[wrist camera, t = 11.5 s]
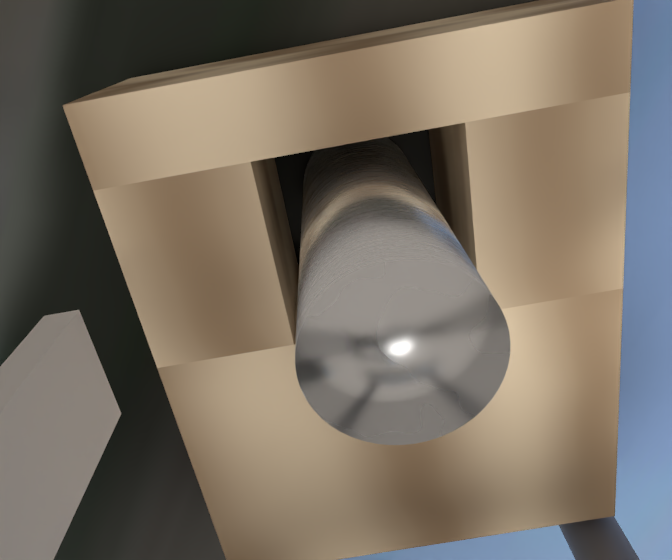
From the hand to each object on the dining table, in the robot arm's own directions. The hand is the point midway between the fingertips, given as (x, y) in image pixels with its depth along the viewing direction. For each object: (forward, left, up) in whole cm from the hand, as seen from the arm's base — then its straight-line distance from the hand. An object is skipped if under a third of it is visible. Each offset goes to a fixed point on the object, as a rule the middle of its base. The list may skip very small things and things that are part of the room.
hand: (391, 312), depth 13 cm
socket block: (0, -3, -10) cm, 11 cm away
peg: (0, 0, -10) cm, 10 cm away
